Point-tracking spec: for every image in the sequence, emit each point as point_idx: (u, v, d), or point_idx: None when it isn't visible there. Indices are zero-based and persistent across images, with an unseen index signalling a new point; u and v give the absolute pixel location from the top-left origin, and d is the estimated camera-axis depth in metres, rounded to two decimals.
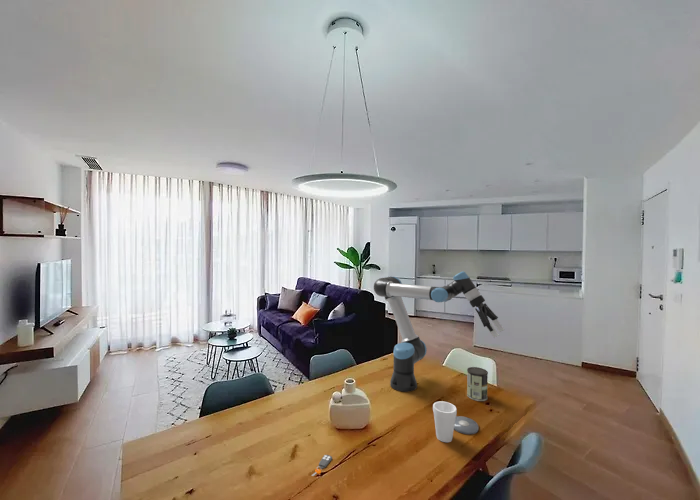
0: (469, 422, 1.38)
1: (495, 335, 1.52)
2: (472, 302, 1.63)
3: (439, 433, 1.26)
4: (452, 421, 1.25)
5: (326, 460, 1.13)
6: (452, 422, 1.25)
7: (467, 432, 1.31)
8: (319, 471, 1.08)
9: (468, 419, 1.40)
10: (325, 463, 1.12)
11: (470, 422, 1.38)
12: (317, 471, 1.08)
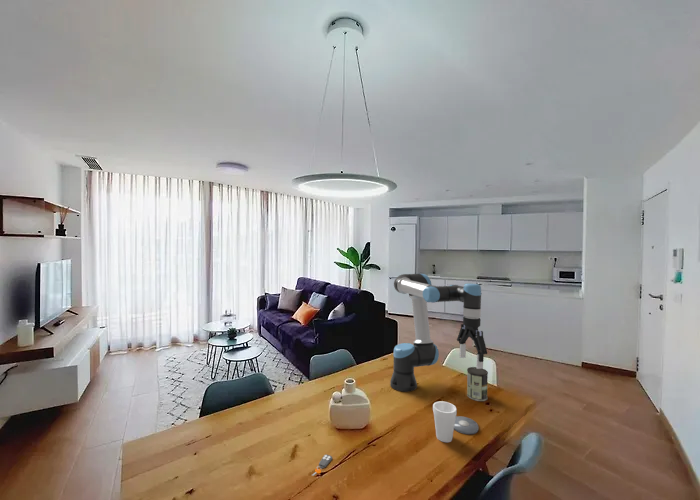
0: (469, 422, 1.38)
1: (480, 366, 1.35)
2: (473, 322, 1.38)
3: (439, 433, 1.26)
4: (452, 421, 1.25)
5: (326, 460, 1.13)
6: (452, 422, 1.25)
7: (467, 432, 1.31)
8: (319, 471, 1.08)
9: (468, 419, 1.40)
10: (325, 463, 1.12)
11: (470, 422, 1.38)
12: (317, 471, 1.08)
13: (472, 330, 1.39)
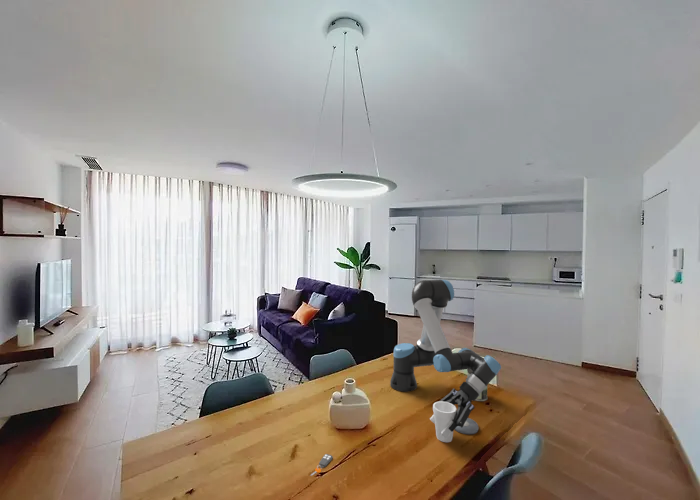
0: (469, 422, 1.38)
1: (445, 434, 1.23)
2: (472, 391, 1.27)
3: (439, 433, 1.26)
4: None
5: (326, 459, 1.13)
6: None
7: (467, 432, 1.31)
8: (319, 470, 1.09)
9: (468, 419, 1.40)
10: (325, 462, 1.12)
11: (470, 422, 1.38)
12: (317, 470, 1.09)
13: (465, 398, 1.28)
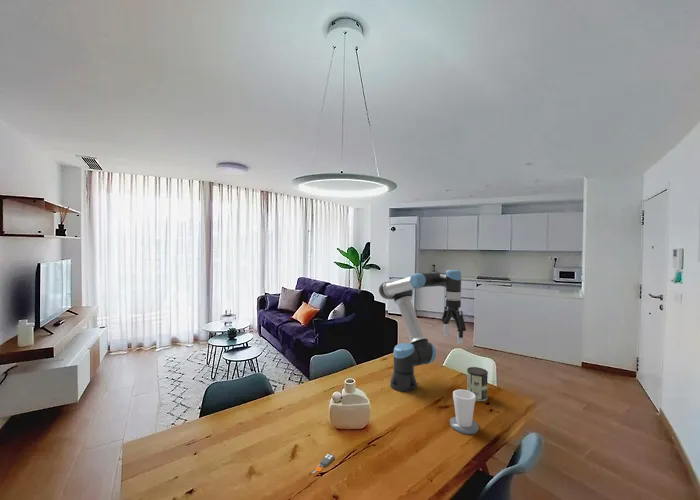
0: None
1: (460, 342, 1.53)
2: (454, 303, 1.57)
3: (460, 419, 1.35)
4: (472, 407, 1.33)
5: (328, 459, 1.14)
6: (472, 408, 1.33)
7: (467, 432, 1.31)
8: (319, 469, 1.09)
9: None
10: (326, 462, 1.12)
11: None
12: (317, 469, 1.09)
13: (453, 310, 1.58)
